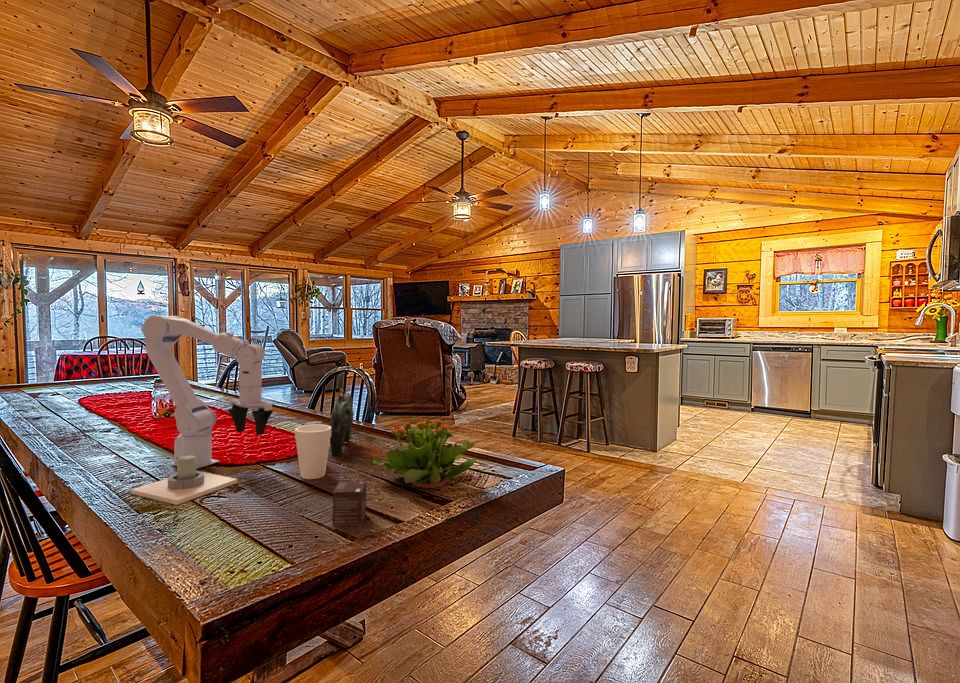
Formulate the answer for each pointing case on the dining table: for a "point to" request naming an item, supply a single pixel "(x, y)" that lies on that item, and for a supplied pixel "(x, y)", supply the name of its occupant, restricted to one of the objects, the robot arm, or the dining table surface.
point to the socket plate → (183, 494)
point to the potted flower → (426, 455)
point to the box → (349, 503)
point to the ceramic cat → (341, 422)
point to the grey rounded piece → (186, 467)
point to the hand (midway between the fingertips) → (250, 433)
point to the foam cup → (312, 449)
